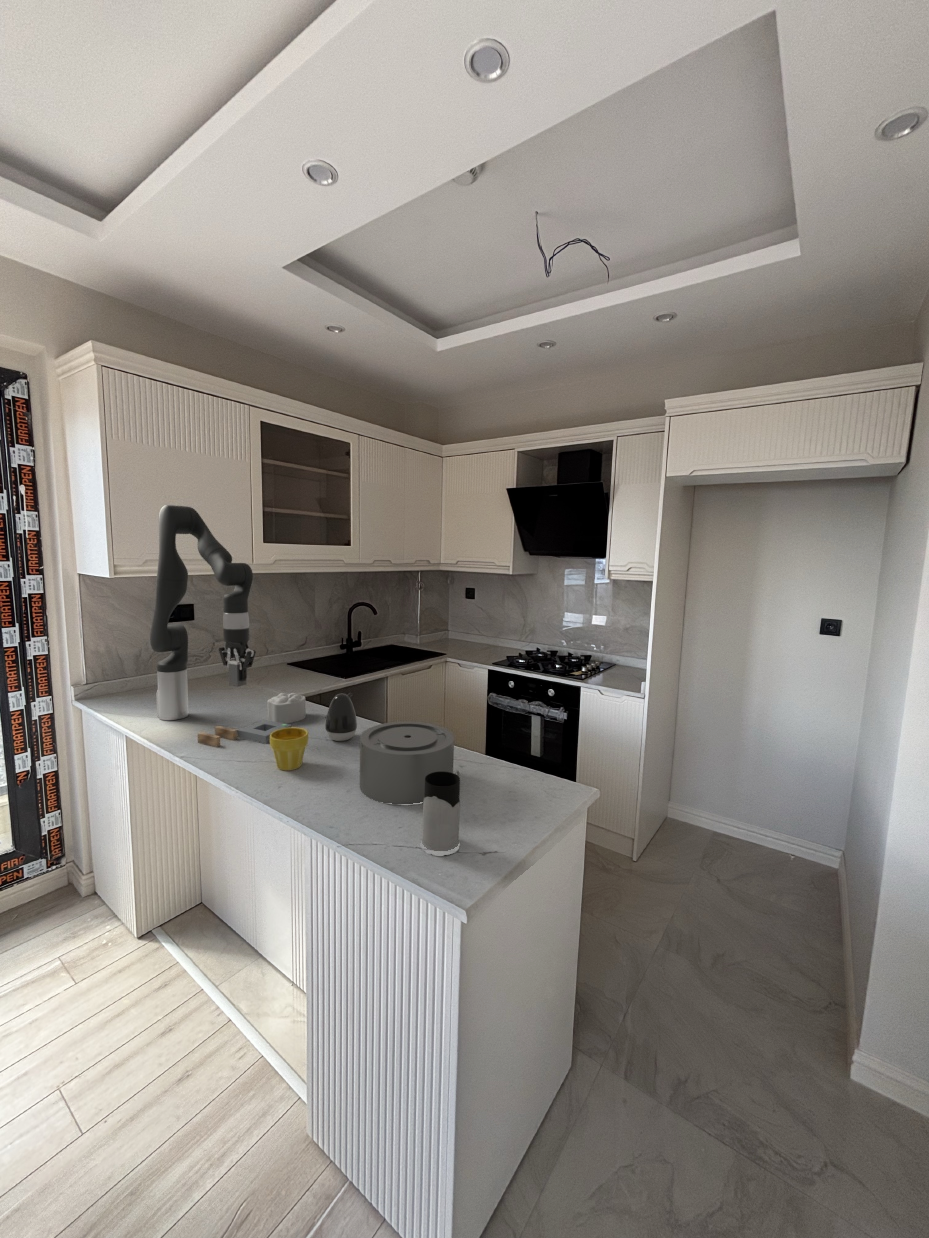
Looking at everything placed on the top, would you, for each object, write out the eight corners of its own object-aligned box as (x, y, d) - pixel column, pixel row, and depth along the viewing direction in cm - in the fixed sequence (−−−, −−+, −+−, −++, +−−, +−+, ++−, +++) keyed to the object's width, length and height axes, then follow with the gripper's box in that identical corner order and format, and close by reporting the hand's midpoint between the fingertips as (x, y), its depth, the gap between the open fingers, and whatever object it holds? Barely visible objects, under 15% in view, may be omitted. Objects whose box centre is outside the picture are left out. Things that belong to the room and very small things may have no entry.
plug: (229, 685, 166) (228, 660, 165) (238, 682, 170) (237, 658, 169) (237, 686, 165) (236, 661, 164) (246, 684, 168) (245, 659, 167)
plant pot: (292, 776, 144) (292, 742, 142) (262, 769, 147) (261, 736, 146) (315, 762, 153) (315, 730, 152) (286, 756, 157) (286, 725, 155)
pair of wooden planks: (197, 742, 165) (197, 733, 165) (218, 734, 172) (218, 725, 172) (216, 746, 162) (216, 737, 162) (237, 738, 169) (236, 729, 169)
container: (469, 794, 137) (471, 745, 135) (378, 814, 125) (379, 761, 123) (428, 759, 159) (430, 717, 157) (348, 773, 147) (348, 728, 145)
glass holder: (413, 850, 110) (414, 783, 108) (439, 819, 124) (441, 758, 122) (451, 860, 107) (453, 791, 105) (474, 827, 121) (477, 765, 119)
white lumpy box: (264, 718, 190) (264, 695, 189) (297, 711, 200) (296, 689, 198) (278, 725, 183) (278, 701, 182) (311, 717, 193) (311, 695, 191)
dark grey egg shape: (363, 736, 176) (364, 692, 174) (344, 746, 166) (344, 699, 164) (339, 730, 180) (339, 687, 178) (318, 740, 171) (318, 695, 169)
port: (237, 737, 171) (236, 729, 170) (264, 726, 182) (263, 718, 181) (265, 743, 166) (265, 735, 166) (291, 732, 177) (291, 724, 177)
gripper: (262, 626, 166) (263, 680, 168) (229, 623, 171) (230, 674, 173) (243, 629, 159) (245, 685, 161) (210, 626, 164) (211, 679, 166)
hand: (237, 679), depth 167 cm, fingers closed on plug, 3 cm apart
